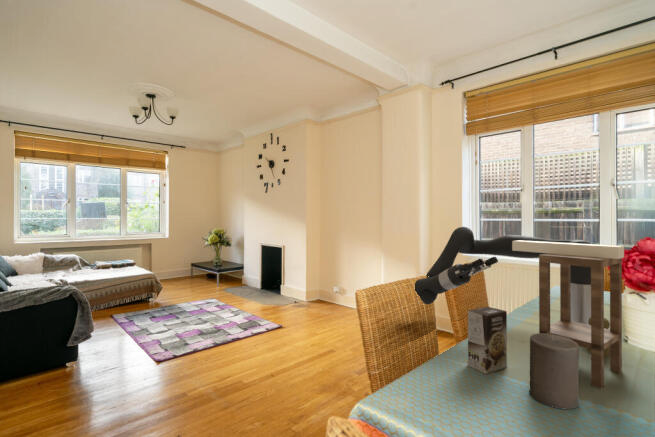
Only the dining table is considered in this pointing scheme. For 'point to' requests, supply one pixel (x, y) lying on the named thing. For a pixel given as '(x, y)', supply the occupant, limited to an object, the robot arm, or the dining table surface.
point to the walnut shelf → (594, 333)
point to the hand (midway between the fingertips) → (489, 260)
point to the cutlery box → (570, 249)
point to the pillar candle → (554, 370)
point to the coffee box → (487, 339)
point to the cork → (606, 326)
